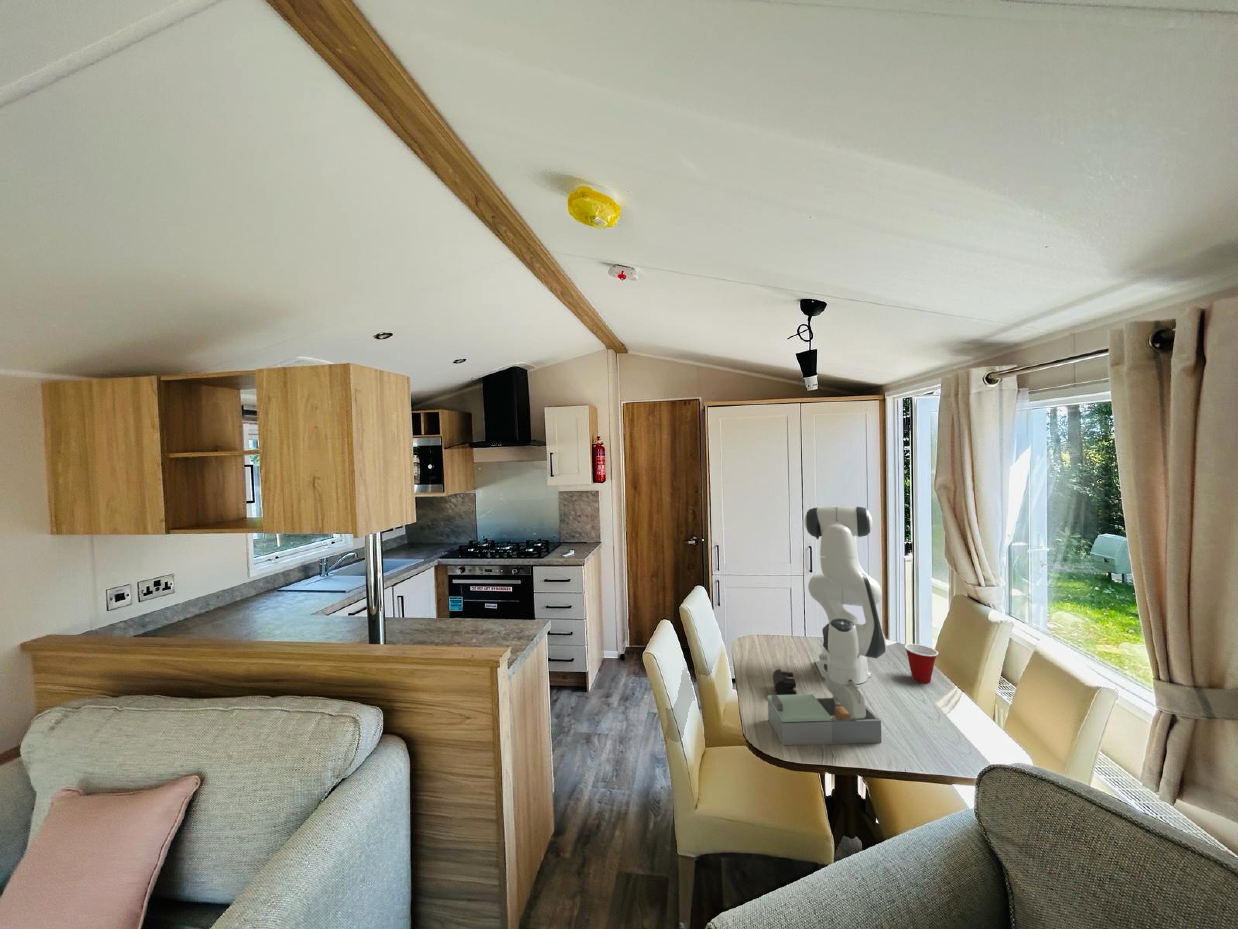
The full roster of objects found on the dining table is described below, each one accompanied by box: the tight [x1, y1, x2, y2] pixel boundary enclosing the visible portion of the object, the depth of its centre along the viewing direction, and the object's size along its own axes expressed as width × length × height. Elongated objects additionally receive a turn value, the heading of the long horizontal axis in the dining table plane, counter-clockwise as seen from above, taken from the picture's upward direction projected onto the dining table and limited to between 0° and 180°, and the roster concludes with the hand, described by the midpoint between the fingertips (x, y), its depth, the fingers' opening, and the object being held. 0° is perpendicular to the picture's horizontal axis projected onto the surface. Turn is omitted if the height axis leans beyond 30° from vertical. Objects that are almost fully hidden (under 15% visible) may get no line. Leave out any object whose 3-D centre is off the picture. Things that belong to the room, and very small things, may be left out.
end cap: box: [772, 668, 797, 695], centre depth 179 cm, size 10×7×7 cm
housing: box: [767, 697, 882, 746], centre depth 154 cm, size 15×29×6 cm, turn 90°
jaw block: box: [835, 706, 850, 720], centre depth 154 cm, size 4×4×6 cm
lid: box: [767, 693, 831, 722], centre depth 154 cm, size 15×15×3 cm
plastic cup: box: [904, 643, 939, 684], centre depth 185 cm, size 11×11×12 cm
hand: (845, 717), depth 154 cm, fingers open, 8 cm apart
